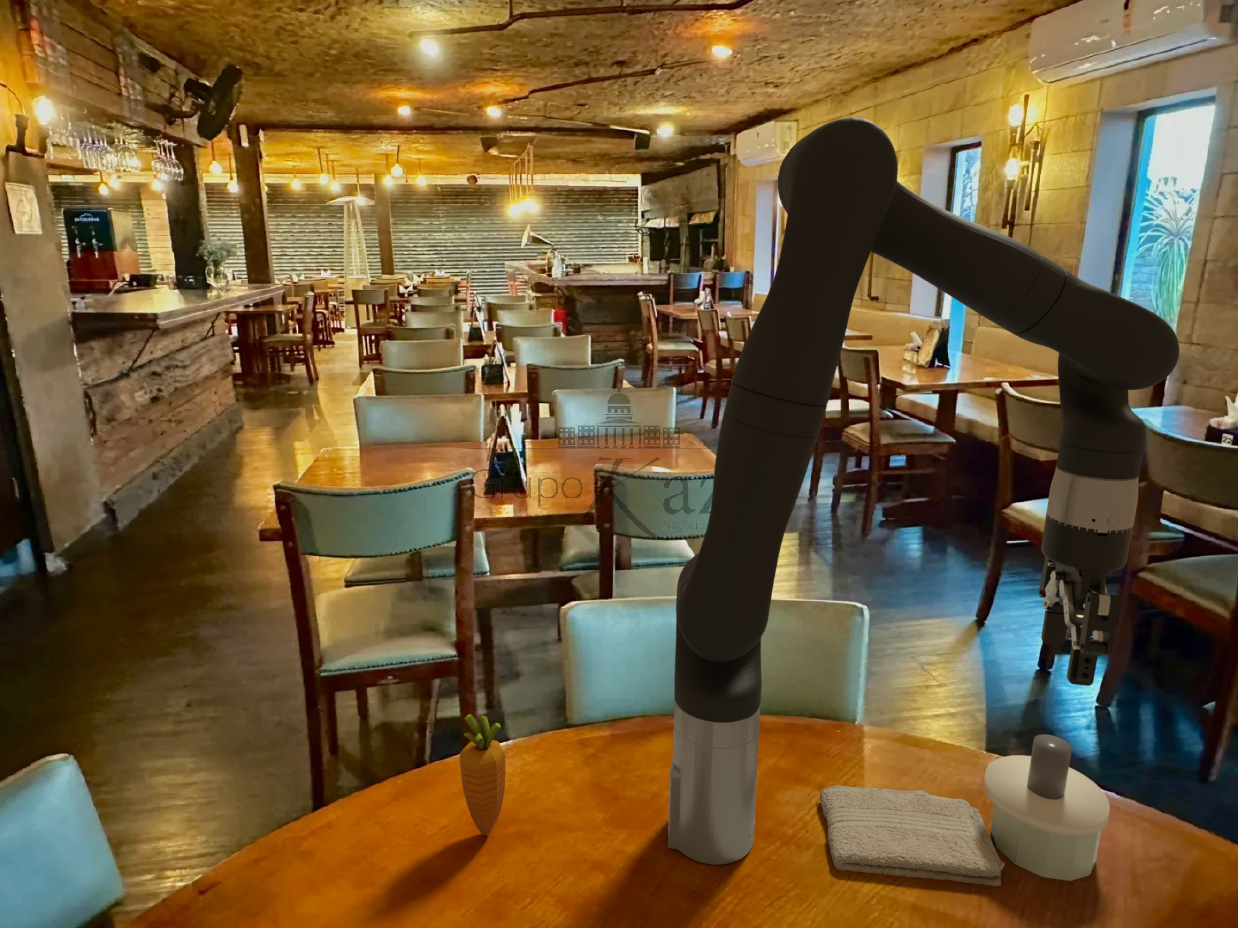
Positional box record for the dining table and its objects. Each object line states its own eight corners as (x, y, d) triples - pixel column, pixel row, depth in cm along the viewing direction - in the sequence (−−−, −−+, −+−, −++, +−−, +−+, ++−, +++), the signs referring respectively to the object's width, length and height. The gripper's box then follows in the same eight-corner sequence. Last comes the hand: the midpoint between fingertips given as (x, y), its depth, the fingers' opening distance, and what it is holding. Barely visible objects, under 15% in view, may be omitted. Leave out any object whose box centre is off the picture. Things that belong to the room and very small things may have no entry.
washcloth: (1009, 892, 82) (1012, 867, 81) (831, 876, 84) (833, 852, 83) (973, 815, 93) (976, 792, 93) (817, 803, 95) (819, 780, 95)
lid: (998, 826, 82) (1006, 770, 80) (973, 758, 93) (980, 707, 92) (1126, 844, 80) (1137, 787, 78) (1085, 772, 91) (1094, 720, 89)
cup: (1005, 871, 84) (1012, 823, 83) (983, 809, 94) (989, 765, 92) (1108, 886, 82) (1118, 837, 81) (1075, 821, 92) (1083, 776, 90)
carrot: (517, 833, 89) (513, 715, 86) (481, 857, 86) (476, 735, 82) (489, 813, 93) (484, 698, 89) (454, 834, 89) (447, 716, 86)
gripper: (1028, 492, 86) (1008, 629, 90) (1072, 535, 73) (1047, 693, 77) (1104, 497, 85) (1080, 636, 89) (1163, 541, 71) (1132, 703, 75)
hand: (1065, 662), depth 83 cm, fingers open, 8 cm apart
